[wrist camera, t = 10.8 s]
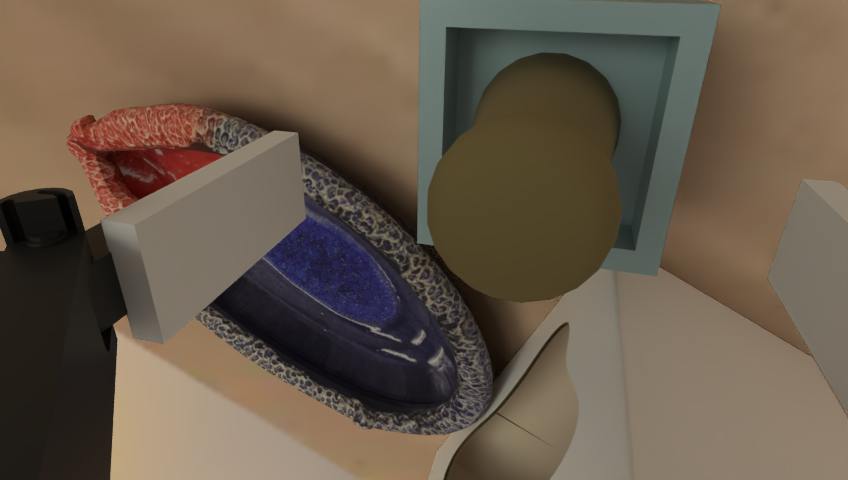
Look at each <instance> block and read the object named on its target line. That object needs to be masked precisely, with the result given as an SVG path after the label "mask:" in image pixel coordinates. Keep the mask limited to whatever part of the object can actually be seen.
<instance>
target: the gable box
mask: <svg viewBox="0 0 848 480" xmlns="http://www.w3.org/2000/svg"><path fill="white" fill-rule="evenodd" d="M428 480H848V418H847V416H846V414H845V412H844V411H843V409H842V407H841V406H840V404H839V402H838V400H837V399H836V397H835V395H834V394H833V392H832V390H831V388H830V387H829V385H828V383H827V382H826V380H825V378H824V376H823V375H822V373H821V371H820V370H819V368H818V366H817V364H816V363H815V361H814V359H813V358H812V357H810V356H809V355H807V354H805V353H804V352H802V351H800V350H799V349H797V348H795V347H794V346H792V345H790V344H789V343H787V342H785V341H783V340H782V339H780V338H778V337H777V336H775V335H773V334H772V333H770V332H768V331H767V330H765V329H763V328H762V327H760V326H758V325H756V324H755V323H753V322H751V321H750V320H748V319H746V318H745V317H743V316H741V315H740V314H738V313H736V312H735V311H733V310H731V309H730V308H728V307H726V306H724V305H723V304H721V303H719V302H718V301H716V300H714V299H713V298H711V297H709V296H708V295H706V294H704V293H703V292H701V291H699V290H698V289H696V288H694V287H692V286H691V285H689V284H687V283H686V282H684V281H682V280H681V279H679V278H677V277H676V276H674V275H672V274H671V273H669V272H667V271H666V270H664V269H662V268H660V267H659V270H658V274H657V276H650V275H643V274H636V273H628V272H621V271H614V270H607V269H599V270H598V271H597V272H596V273H595V274H594V275H592V276H591V277H590V278H589V279H588V280H587V281H585V282H584V283H583V284H582V285H581V286H579V287H578V288H577V289H575V290H572V291H570V292H567V293H565V295H564V296H563V297H562V298H561V300H560V301H559V302H558V303H557V304H556V306H555V307H554V308H553V309H552V311H551V312H550V313H549V314H548V316H547V317H546V318H545V319H544V320H543V322H542V323H541V324H540V325H539V327H538V328H537V329H536V330H535V332H534V333H533V334H532V335H531V336H530V338H529V339H528V340H527V341H526V343H525V344H524V345H523V346H522V348H521V349H520V350H519V351H518V352H517V354H516V355H515V356H514V357H513V359H512V360H511V361H510V362H509V364H508V365H507V366H506V367H505V368H504V370H503V371H502V372H501V373H500V375H499V376H498V377H497V378H496V380H495V381H494V382H493V383H492V393H491V399H490V402H489V404H488V407H487V409H486V412H485V413H484V414H483V415H482V416H481V417H480V418H479V420H478V421H477V422H475V423H474V424H472V425H470V426H468V427H467V428H465V429H462V430H460V431H456V432H452V434H451V435H450V436H449V437H448V439H447V440H446V441H445V442H444V444H443V445H442V446H441V447H440V448H439V450H438V451H437V453H436V456H435V460H434V463H433V466H432V469H431V472H430V475H429V478H428Z"/></svg>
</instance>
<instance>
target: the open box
mask: <svg viewBox="0 0 848 480" xmlns="http://www.w3.org/2000/svg"><path fill="white" fill-rule="evenodd" d="M720 8H721V5H720V4H716V3H711V2H706V1H701V0H420V50H419V134H418V217H417V243H419V244H426V245H434V244H433V240H432V237H431V234H430V231H429V228H428V225H427V197H428V188H429V185H430V182H431V179H432V177H433V174H434V171H435V169H436V166H437V163H438V162H439V161H440V159H441V158H442V157H443V156H444V154H445V153H446V152H447V151H448V150H449V148H450V147H451V146H452V145H453V143H454V142H455V141H456V140H457V139H458V138H459V136H460V135H462V134H463V133H465V132H466V131H468V130H470V129H471V128H472V126H473V122H474V118H475V113H476V110H477V107H478V105H479V102H480V99H481V97H482V94H483V92H484V89H485V88H486V87H487V86H488V84H489V83H490V82H491V81H492V79H493V78H494V77H495V76H496V75H497V73H498V72H499V71H501V70H502V69H504V68H505V67H507V66H508V65H510V64H511V63H513V62H514V61H516V60H517V59H520V58H523V57H527V56H530V55H534V54H537V53H541V52H545V53H566V54H568V55H571V56H574V57H576V58H579V59H581V60H584V61H586V62H588V63H590V64H591V65H592V66H593V67H594V68H595V69H596V70H598V71H599V72H600V73H601V74H602V75H603V76H605V77H606V78H607V80H608V82H609V84H610V86H611V87H612V89H613V91H614V93H615V95H616V96H617V98H618V104H619V110H620V116H621V127H620V133H619V138H618V144H617V147H616V150H615V152H614V155H613V158H612V161H611V166H612V167H613V169H614V171H615V172H616V176H617V182H618V187H619V193H620V199H621V205H622V215H621V221H620V226H619V231H618V236H617V240H616V242H615V243H614V245H613V247H612V249H611V250H610V252H609V254H608V255H607V257H606V259H605V260H604V262H603V264H602V265H601V267H600V269H607V270H614V271H621V272H628V273H636V274H643V275H650V276H657V274H658V270H659V265H660V261H661V257H662V253H663V249H664V244H665V240H666V236H667V232H668V227H669V223H670V219H671V215H672V210H673V206H674V202H675V198H676V194H677V189H678V185H679V181H680V177H681V172H682V168H683V164H684V160H685V156H686V151H687V147H688V143H689V139H690V134H691V130H692V126H693V122H694V118H695V113H696V109H697V105H698V101H699V96H700V92H701V88H702V84H703V80H704V75H705V71H706V67H707V63H708V58H709V54H710V50H711V46H712V42H713V37H714V33H715V29H716V25H717V20H718V16H719V12H720Z"/></svg>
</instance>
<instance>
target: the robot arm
mask: <svg viewBox="0 0 848 480" xmlns="http://www.w3.org/2000/svg"><path fill="white" fill-rule="evenodd" d="M305 219H306V213H305V202H304V192H303V181H302V170H301V159H300V149H299V138H298V133H297V132H286V131H275V130H274V131H272V132H270V133H268V134H267V135H265V136H263V137H261V138H259V139H257V140H255V141H253V142H251V143H249V144H247V145H245V146H243V147H241V148H239V149H237V150H235V151H233V152H232V153H230V154H228V155H226V156H224V157H222V158H220V159H218V160H216V161H214V162H212V163H210V164H208V165H206V166H204V167H202V168H200V169H198V170H197V171H195V172H193V173H191V174H189V175H187V176H185V177H183V178H181V179H179V180H177V181H175V182H173V183H171V184H169V185H167V186H165V187H164V188H162V189H160V190H158V191H156V192H154V193H152V194H150V195H148V196H146V197H144V198H142V199H140V200H138V201H136V202H134V203H132V204H130V205H129V206H127V207H125V208H123V209H121V210H119V211H117V212H115V213H113V214H111V215H109V216H107V217H105V218H103V219H101V220H100V221H101V223H99V224H98V225H96V226H94V227H92V228H90V229H88V230H86V231H85V229H84V226H83V222H82V219H81V216H80V212H79V209H78V206H77V202H76V199H75V196H74V193H73V191H71V190H68V189H64V188H43V189H35V190H29V191H24V192H20V193H17V194H13V195H10V196H7V197H5V198H3V199H1V200H0V228H1V231H2V234H3V236H4V239H5V242H6V244H7V246H6V248H5V251H0V480H110V468H111V450H112V432H113V413H114V394H115V375H116V356H117V337H116V333H115V330H114V327H113V324H114V323H116V322H117V321H118V320H120V319H121V318H122V317H124V316H125V315H126V314H127V317H128V321H129V324H130V328H131V332H132V335H133V338H136V339H141V340H146V341H151V342H156V343H161V344H165V343H166V342H167V341H168V340H170V339H171V338H172V337H173V336H174V335H175V334H176V333H177V332H179V331H180V330H181V329H182V328H183V327H184V326H185V325H186V324H188V323H189V322H190V321H191V320H192V319H193V318H194V317H195V316H197V315H198V314H199V313H200V312H201V311H202V310H203V309H204V308H206V307H207V306H208V305H209V304H210V303H211V302H212V301H214V300H215V299H216V298H217V297H218V296H219V295H220V294H221V293H223V292H224V291H225V290H226V289H227V288H228V287H229V286H230V285H232V284H233V283H234V282H235V281H236V280H237V279H238V278H239V277H241V276H242V275H243V274H244V273H245V272H246V271H247V270H248V269H250V268H251V267H252V266H253V265H254V264H255V263H256V262H257V261H259V260H260V259H261V258H262V257H263V256H264V255H265V254H267V253H268V252H269V251H270V250H271V249H272V248H273V247H274V246H276V245H277V244H278V243H279V242H280V241H281V240H282V239H283V238H285V237H286V236H287V235H288V234H289V233H290V232H291V231H292V230H294V229H295V228H296V227H297V226H298V225H299V224H300V223H301V222H303V221H304V220H305ZM767 279H768V280H769V282H770V284H771V285H772V287H773V289H774V291H775V292H776V294H777V296H778V297H779V299H780V301H781V302H782V304H783V306H784V308H785V309H786V311H787V313H788V314H789V316H790V318H791V319H792V321H793V323H794V325H795V326H796V328H797V330H798V331H799V333H800V335H801V336H802V338H803V340H804V342H805V343H806V345H807V347H808V348H809V350H810V352H811V353H812V355H813V357H814V359H815V360H816V362H817V364H818V365H819V367H820V369H821V371H822V372H823V374H824V376H825V377H826V379H827V381H828V382H829V384H830V386H831V388H832V389H833V391H834V393H835V394H836V396H837V398H838V399H839V401H840V403H841V405H842V406H843V408H844V410H845V411H846V413H847V415H848V189H846V188H845V187H844V186H843V185H842V184H841V183H839V182H834V181H823V180H812V179H802V180H801V183H800V186H799V188H798V191H797V194H796V197H795V200H794V203H793V206H792V209H791V212H790V214H789V217H788V220H787V223H786V226H785V229H784V232H783V235H782V238H781V240H780V243H779V246H778V249H777V252H776V255H775V258H774V261H773V264H772V266H771V269H770V272H769V275H768V278H767Z"/></svg>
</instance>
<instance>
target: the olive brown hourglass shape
mask: <svg viewBox="0 0 848 480" xmlns="http://www.w3.org/2000/svg"><path fill="white" fill-rule="evenodd" d="M620 127H621V116H620V110H619V104H618V98H617V96H616V95H615V93H614V91H613V89H612V87H611V86H610V84H609V82H608V80H607V78H606V77H605V76H603V75H602V74H601V73H600V72H599V71H598V70H596V69H595V68H594V67H593V66H592V65H591V64H590V63H588V62H586V61H584V60H581V59H579V58H576V57H574V56H571V55H568V54H566V53H545V52H541V53H537V54H534V55H530V56H527V57H523V58H520V59H517V60H516V61H514V62H513V63H511V64H510V65H508V66H507V67H505V68H504V69H502V70H501V71H499V72H498V73H497V75H496V76H495V77H494V78H493V79H492V81H491V82H490V83H489V84H488V86H487V87H486V88H485V89H484V92H483V94H482V97H481V99H480V102H479V105H478V107H477V110H476V113H475V118H474V122H473V126H472V128H471V129H470V130H468V131H466V132H465V133H463V134H462V135H460V136H459V138H458V139H457V140H456V141H455V142H454V143H453V145H452V146H451V147H450V148H449V150H448V151H447V152H446V153H445V154H444V156H443V157H442V158H441V159H440V161H439V162H438V163H437V166H436V169H435V171H434V174H433V177H432V179H431V182H430V185H429V188H428V197H427V225H428V228H429V231H430V234H431V237H432V240H433V244H434V247H435V249H436V250H437V252H438V253H439V255H440V256H441V258H442V259H443V261H444V262H445V263H446V265H447V266H448V268H449V269H450V270H451V271H452V272H453V273H454V274H456V275H457V276H458V277H459V278H460V279H462V280H463V281H464V282H465V283H467V284H468V285H469V286H470V287H471V288H473V289H475V290H477V291H479V292H482V293H484V294H486V295H489V296H491V297H493V298H495V299H501V300H507V301H514V302H520V303H522V302H531V301H540V300H549V299H553V298H555V297H558V296H560V295H563V294H565V293H567V292H570V291H572V290H575V289H577V288H578V287H579V286H581V285H582V284H583V283H584V282H585V281H587V280H588V279H589V278H590V277H591V276H592V275H594V274H595V273H596V272H597V271H598V270H599V269H600V267H601V265H602V264H603V262H604V260H605V259H606V257H607V255H608V254H609V252H610V250H611V249H612V247H613V245H614V243H615V242H616V240H617V236H618V231H619V226H620V221H621V215H622V205H621V199H620V193H619V187H618V182H617V176H616V172H615V171H614V169H613V167H612V166H611V161H612V158H613V155H614V152H615V150H616V147H617V144H618V138H619V133H620Z"/></svg>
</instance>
